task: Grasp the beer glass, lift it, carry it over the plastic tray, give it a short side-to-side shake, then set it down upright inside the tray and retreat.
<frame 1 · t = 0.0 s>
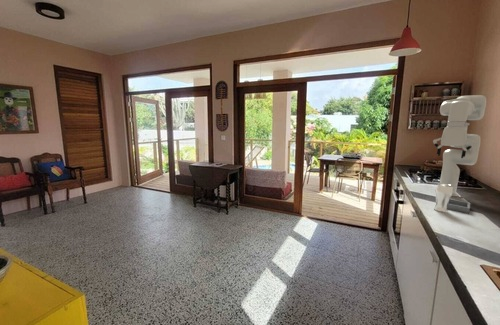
hand: (450, 156, 128), 31 cm above the countertop, tool pointing down, fingers open, 9 cm apart
tray: (454, 207, 140), on the countertop
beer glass: (440, 210, 134), on the countertop
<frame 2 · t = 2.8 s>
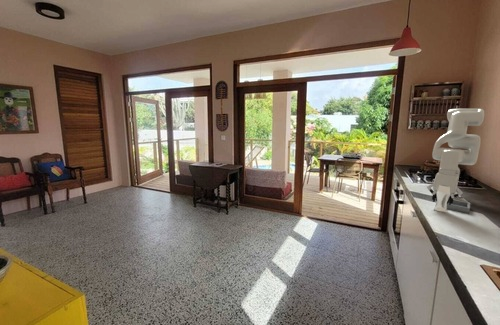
hand: (441, 202, 134), 5 cm above the countertop, tool pointing down, fingers closed on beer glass, 6 cm apart
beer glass: (440, 210, 134), on the countertop, touching gripper
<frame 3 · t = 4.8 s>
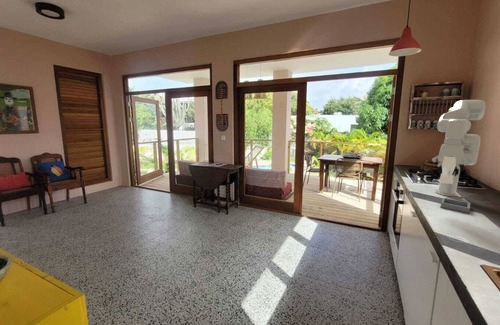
hand: (447, 174, 131), 21 cm above the countertop, tool pointing down, fingers closed on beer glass, 6 cm apart
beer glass: (445, 182, 132), point 16 cm above the countertop, touching gripper
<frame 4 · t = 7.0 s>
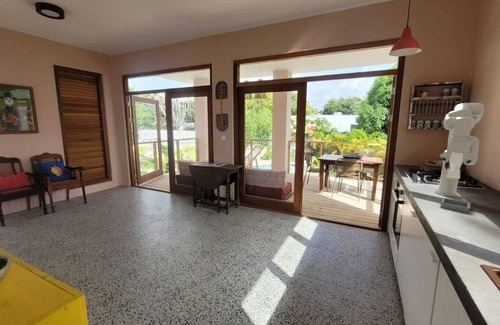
hand: (454, 169, 138), 22 cm above the countertop, tool pointing down, fingers closed on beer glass, 6 cm apart
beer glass: (452, 177, 139), point 18 cm above the countertop, touching gripper
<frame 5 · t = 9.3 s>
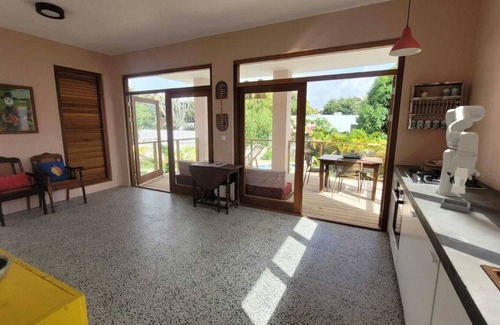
hand: (459, 184, 137), 14 cm above the countertop, tool pointing down, fingers closed on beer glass, 6 cm apart
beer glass: (457, 192, 138), point 9 cm above the countertop, touching gripper
when the fingers open (6 cm above the countertop, at t = 11.2 s): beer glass drops 1 cm, resting on tray.
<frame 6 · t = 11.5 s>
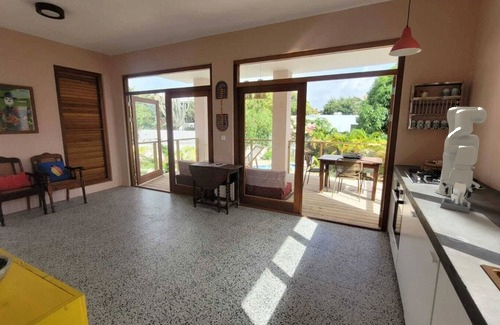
hand: (457, 195, 138), 7 cm above the countertop, tool pointing down, fingers open, 9 cm apart
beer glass: (455, 207, 139), resting on tray
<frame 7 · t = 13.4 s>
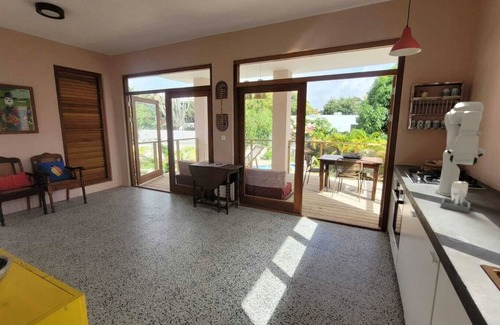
hand: (462, 163, 136), 27 cm above the countertop, tool pointing down, fingers open, 9 cm apart
nothing on the countertop moved.
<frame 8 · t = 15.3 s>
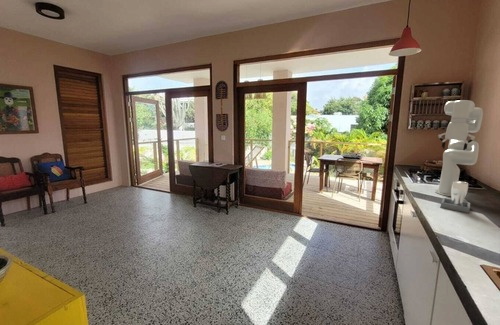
hand: (453, 149, 146), 33 cm above the countertop, tool pointing down, fingers open, 9 cm apart
nothing on the countertop moved.
at the end: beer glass 0.4 cm off-centre on the tray, point 0.4 cm above the tray's base; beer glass tilted 0°; the gripper is holding nothing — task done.
